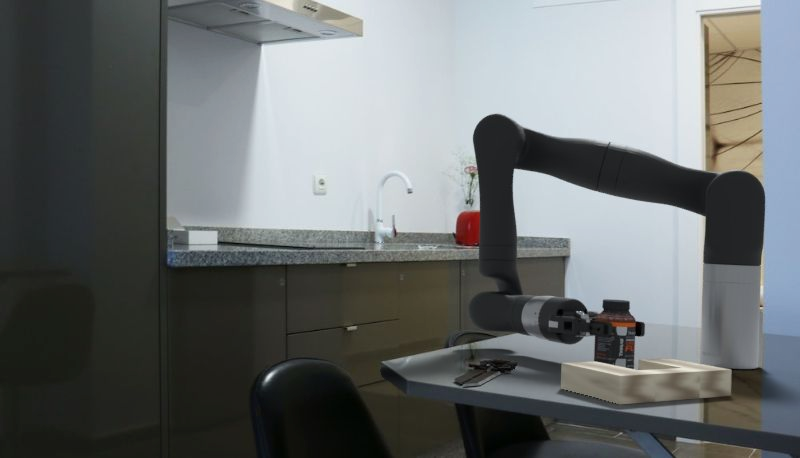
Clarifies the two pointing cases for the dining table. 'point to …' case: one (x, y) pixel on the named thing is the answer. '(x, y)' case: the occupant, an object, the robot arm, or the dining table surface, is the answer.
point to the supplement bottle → (616, 335)
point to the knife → (485, 371)
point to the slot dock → (646, 381)
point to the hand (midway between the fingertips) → (626, 329)
